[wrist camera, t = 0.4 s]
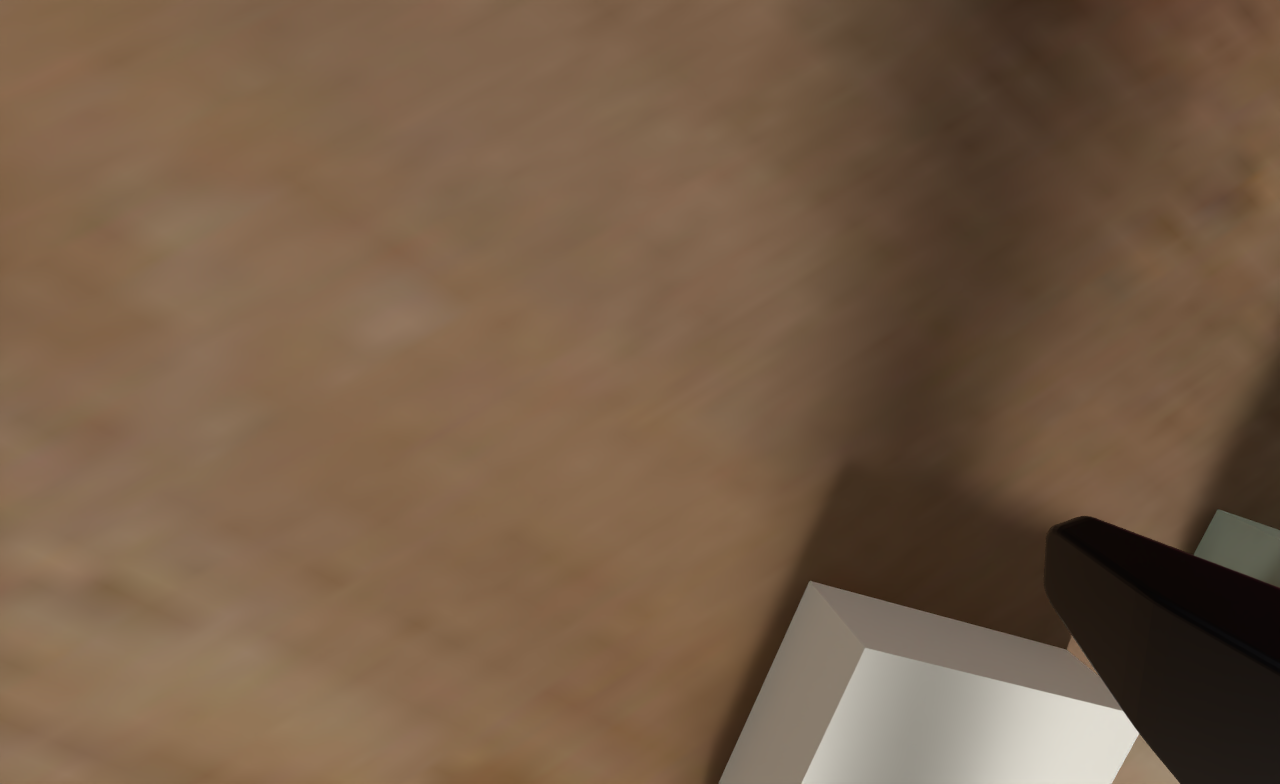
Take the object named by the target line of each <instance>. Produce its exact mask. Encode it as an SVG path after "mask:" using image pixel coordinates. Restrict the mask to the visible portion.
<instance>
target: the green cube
mask: <svg viewBox="0 0 1280 784" xmlns="http://www.w3.org/2000/svg"><path fill="white" fill-rule="evenodd" d="M1194 555H1195V556H1197V557H1200V558H1203V559H1205V560H1208V561H1211V562H1213V563H1216V564H1219V565H1221V566H1224V567H1227V568H1229V569H1232V570H1235V571H1237V572H1240V573H1242V574H1245V575H1248V576H1250V577H1253V578H1256V579H1258V580H1261V581H1264V582H1266V583H1269V584H1272V585H1274V586H1277V587H1280V530H1278V529H1275V528H1272V527H1269V526H1266V525H1263V524H1260V523H1258V522H1255V521H1252V520H1249V519H1246V518H1243V517H1240V516H1237V515H1234V514H1231V513H1228V512H1225V511H1222V510H1219V509H1218V510H1217V511H1216V513H1215V515H1214V517H1213V519H1212V521H1211V523H1210V525H1209V527H1208V528H1207V530H1206V532H1205V534H1204V536H1203V538H1202V540H1201V542H1200V543H1199V545H1198V547H1197V549H1196V551H1195V553H1194Z"/></svg>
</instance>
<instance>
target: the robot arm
mask: <svg viewBox="0 0 1280 784" xmlns="http://www.w3.org/2000/svg"><path fill="white" fill-rule="evenodd" d="M1044 587H1045V591H1046V594H1047V597H1048V599H1049V601H1050V603H1051V605H1052V606H1053V608H1054V609H1055V611H1056V612H1057V614H1058V615H1059V617H1060V618H1061V620H1062V621H1063V623H1064V624H1065V626H1066V627H1067V629H1068V630H1069V632H1070V633H1071V635H1072V636H1073V638H1074V639H1075V641H1076V642H1077V644H1078V645H1079V647H1080V648H1081V650H1082V651H1083V653H1084V654H1085V656H1086V657H1087V658H1088V660H1089V661H1090V663H1091V664H1092V666H1093V667H1094V669H1095V670H1096V672H1097V673H1098V675H1099V676H1100V678H1101V679H1102V681H1103V682H1104V684H1105V685H1106V687H1107V688H1108V690H1109V691H1110V693H1111V694H1112V696H1113V697H1114V699H1115V700H1116V702H1117V703H1118V705H1119V706H1120V708H1121V709H1122V710H1123V712H1124V713H1125V715H1126V716H1127V717H1128V719H1129V720H1130V722H1131V723H1132V725H1133V726H1134V727H1135V729H1136V730H1137V731H1138V732H1139V734H1140V735H1141V736H1142V737H1143V739H1144V740H1145V741H1146V743H1147V744H1148V745H1149V746H1150V748H1151V749H1152V750H1153V751H1154V752H1155V754H1156V755H1157V756H1158V757H1159V758H1160V760H1161V761H1162V762H1163V763H1164V764H1165V766H1166V767H1167V768H1168V769H1169V771H1170V772H1171V773H1172V774H1173V775H1174V777H1175V778H1176V779H1177V780H1178V781H1179V783H1180V784H1280V587H1277V586H1274V585H1272V584H1269V583H1266V582H1264V581H1261V580H1258V579H1256V578H1253V577H1250V576H1248V575H1245V574H1242V573H1240V572H1237V571H1235V570H1232V569H1229V568H1227V567H1224V566H1221V565H1219V564H1216V563H1213V562H1211V561H1208V560H1205V559H1203V558H1200V557H1197V556H1195V555H1192V554H1189V553H1187V552H1184V551H1181V550H1179V549H1176V548H1173V547H1171V546H1168V545H1166V544H1163V543H1160V542H1158V541H1155V540H1152V539H1150V538H1147V537H1144V536H1142V535H1139V534H1136V533H1134V532H1131V531H1128V530H1126V529H1123V528H1120V527H1118V526H1115V525H1112V524H1110V523H1107V522H1104V521H1102V520H1099V519H1097V518H1093V517H1089V516H1080V517H1076V518H1074V519H1071V520H1068V521H1065V522H1062V523H1060V524H1057V525H1054V526H1053V527H1051V528H1050V530H1049V531H1048V533H1047V536H1046V549H1045V567H1044Z"/></svg>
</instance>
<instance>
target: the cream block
mask: <svg viewBox="0 0 1280 784" xmlns="http://www.w3.org/2000/svg"><path fill="white" fill-rule="evenodd" d="M1138 735H1139V732H1138V731H1137V730H1136V729H1135V727H1134V726H1133V725H1132V723H1131V722H1130V720H1129V719H1128V717H1127V716H1126V715H1125V713H1124V712H1123V710H1122V709H1121V708H1120V706H1119V705H1118V703H1117V702H1116V700H1115V699H1114V697H1113V696H1112V694H1111V693H1110V691H1109V690H1108V688H1107V687H1106V685H1105V684H1104V682H1103V681H1102V679H1101V678H1100V677H1099V676H1098V675H1097V674H1096V673H1094V672H1093V671H1092V670H1091V669H1090V668H1088V667H1087V666H1086V665H1085V664H1084V663H1082V662H1081V661H1080V660H1079V659H1077V658H1076V657H1075V656H1074V655H1073V654H1071V653H1070V652H1069V651H1068V650H1066V649H1063V648H1059V647H1055V646H1051V645H1048V644H1044V643H1040V642H1037V641H1033V640H1029V639H1025V638H1022V637H1018V636H1014V635H1010V634H1007V633H1003V632H999V631H995V630H992V629H988V628H984V627H981V626H977V625H973V624H969V623H966V622H962V621H958V620H954V619H951V618H947V617H943V616H939V615H936V614H932V613H928V612H924V611H921V610H917V609H913V608H910V607H906V606H902V605H898V604H895V603H891V602H887V601H883V600H880V599H876V598H872V597H868V596H865V595H861V594H857V593H854V592H850V591H846V590H842V589H839V588H835V587H831V586H827V585H824V584H820V583H816V582H812V581H809V583H808V586H807V588H806V590H805V592H804V594H803V597H802V599H801V601H800V603H799V606H798V608H797V610H796V612H795V614H794V617H793V619H792V621H791V623H790V626H789V628H788V630H787V632H786V634H785V637H784V639H783V641H782V643H781V646H780V648H779V650H778V652H777V654H776V657H775V659H774V661H773V663H772V666H771V668H770V670H769V672H768V674H767V677H766V679H765V681H764V683H763V686H762V688H761V690H760V692H759V694H758V697H757V699H756V701H755V703H754V706H753V708H752V710H751V712H750V714H749V717H748V719H747V721H746V723H745V726H744V728H743V730H742V732H741V734H740V737H739V739H738V741H737V743H736V745H735V748H734V750H733V752H732V754H731V757H730V759H729V761H728V763H727V765H726V768H725V770H724V772H723V774H722V777H721V779H720V781H719V783H718V784H1112V782H1113V780H1114V778H1115V776H1116V775H1117V773H1118V771H1119V769H1120V767H1121V766H1122V764H1123V762H1124V760H1125V758H1126V756H1127V755H1128V753H1129V751H1130V749H1131V747H1132V745H1133V744H1134V742H1135V740H1136V738H1137V736H1138Z"/></svg>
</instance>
